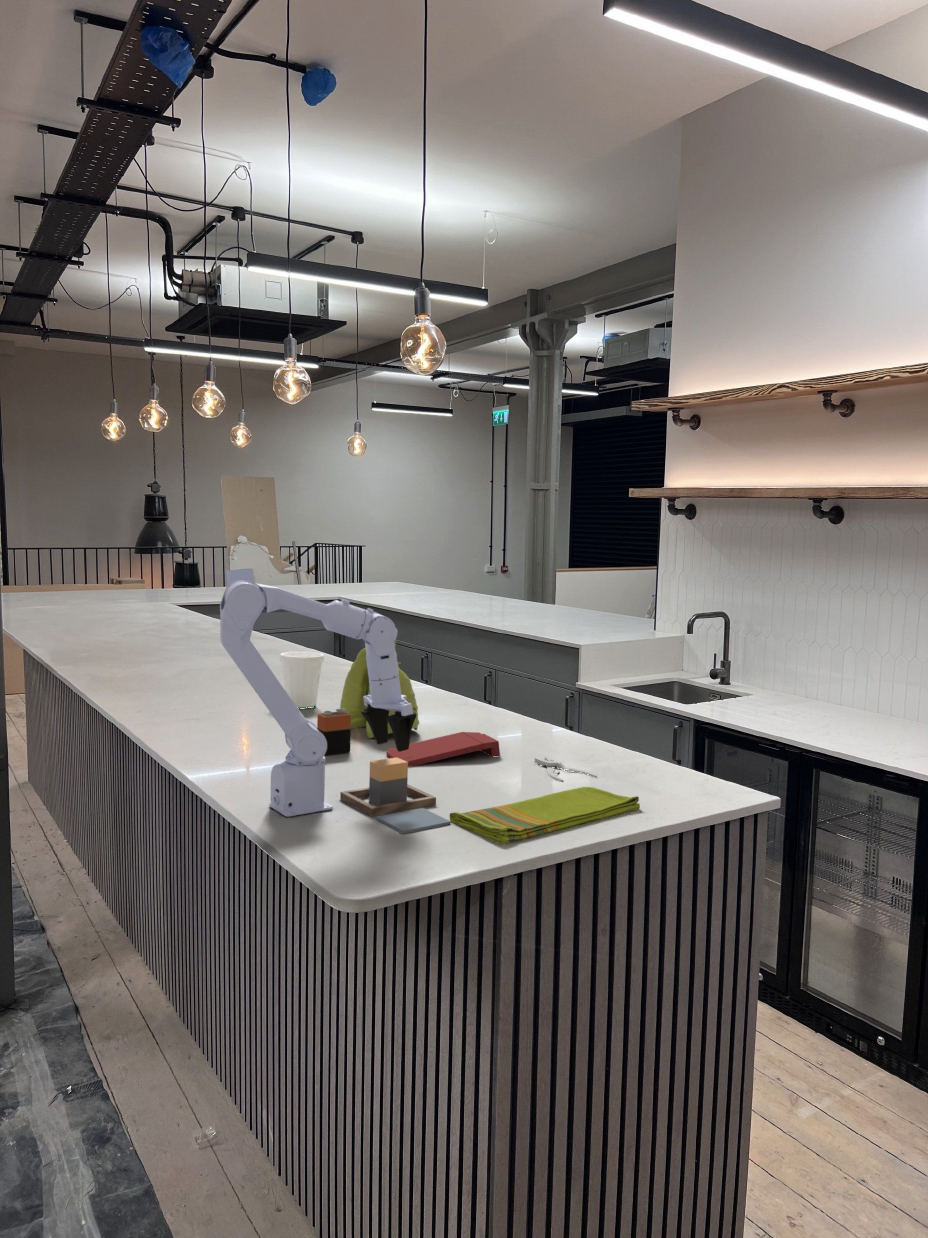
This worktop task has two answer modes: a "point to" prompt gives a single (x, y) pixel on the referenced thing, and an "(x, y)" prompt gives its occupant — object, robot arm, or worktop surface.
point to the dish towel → (545, 814)
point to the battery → (335, 731)
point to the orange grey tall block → (388, 781)
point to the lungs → (360, 687)
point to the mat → (413, 820)
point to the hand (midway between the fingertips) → (392, 746)
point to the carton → (446, 748)
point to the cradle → (419, 802)
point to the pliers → (552, 763)
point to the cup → (302, 676)
